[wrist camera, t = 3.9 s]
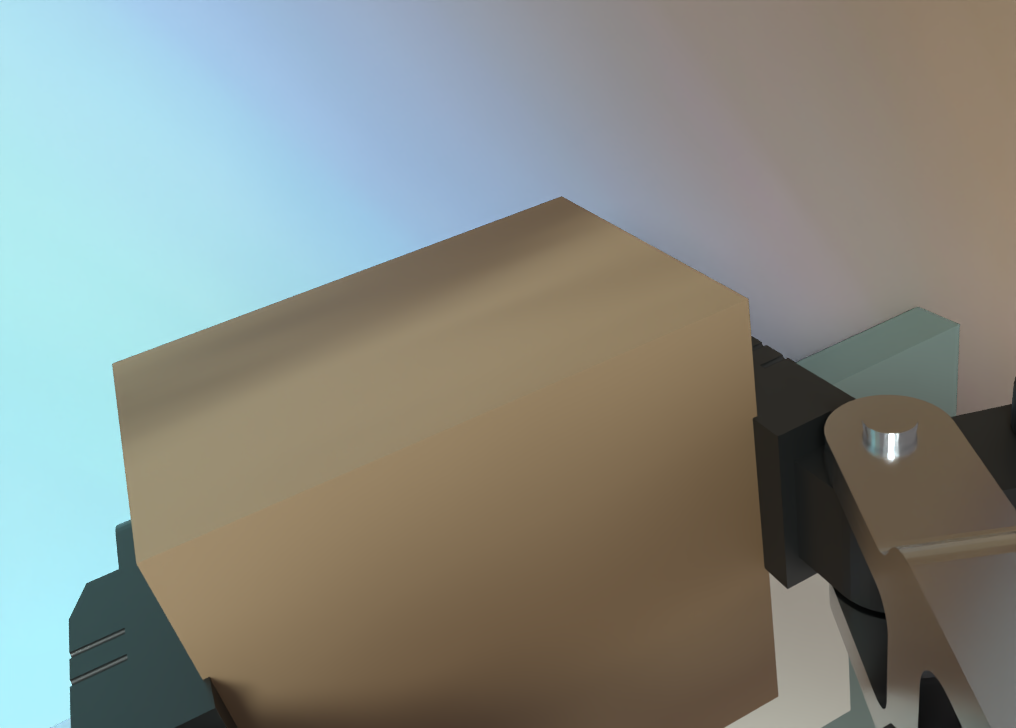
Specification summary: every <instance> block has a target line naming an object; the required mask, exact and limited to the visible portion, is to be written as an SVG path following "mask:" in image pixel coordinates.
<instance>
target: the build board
mask: <svg viewBox="0 0 1016 728" xmlns="http://www.w3.org/2000/svg"><path fill="white" fill-rule="evenodd" d="M959 329H960V324H958V323H955V322H953V321H951V320H948V319H946V318H943V317H941V316H939V315H936V314H934V313H932V312H929V311H927V310H925V309H922V308H920V307H916V308H914V309H912V310H910V311H907V312H905V313H903V314H901V315H899V316H897V317H894V318H892V319H890V320H888V321H886V322H884V323H881V324H879V325H877V326H875V327H873V328H870V329H868V330H866V331H864V332H862V333H860V334H857V335H855V336H853V337H851V338H849V339H846V340H844V341H842V342H840V343H838V344H836V345H833V346H831V347H829V348H827V349H825V350H823V351H820V352H818V353H816V354H814V355H812V356H809V357H807V358H805V359H803V360H801V361H799V362H796V363H797V364H799V365H800V366H802V367H804V368H805V369H807V370H809V371H810V372H812V373H814V374H815V375H817V376H819V377H820V378H822V379H824V380H825V381H827V382H829V383H830V384H832V385H834V386H835V387H837V388H839V389H840V390H842V391H844V392H845V393H847V394H849V395H850V396H852V397H854V398H855V399H858V398H862V397H867V396H874V395H900V396H907V397H913V398H916V399H920V400H923V401H926V402H928V403H931V404H933V405H935V406H937V407H939V408H940V409H942V410H943V411H944V412H946V413H947V414H948V415H949V416H950V417H953V416H956V406H957V381H958V355H959ZM769 577H770V591H771V604H772V617H773V630H774V643H775V656H776V670H777V683H778V697H777V698H775V699H773V700H772V701H770V702H768V703H766V704H765V705H763V706H761V707H759V708H758V709H756V710H754V711H752V712H751V713H749V714H747V715H746V716H744V717H742V718H740V719H739V720H737V721H735V722H733V723H732V724H730V725H728V726H726V727H725V728H876V727H875V724H874V721H873V719H872V716H871V713H870V711H869V708H868V706H867V703H866V700H865V698H864V695H863V692H862V690H861V687H860V684H859V682H858V679H857V676H856V674H855V671H854V669H853V666H852V663H851V661H850V658H849V655H848V653H847V650H846V647H845V645H844V642H843V639H842V637H841V634H840V632H839V629H838V626H837V624H836V621H835V618H834V616H833V613H832V610H831V607H830V600H829V583H828V582H827V581H826V580H825V579H824V578H823V577H821V576H820V575H819V574H818V573H817V574H815V575H813V576H811V577H809V578H808V579H806V580H804V581H802V582H800V583H798V584H796V585H795V586H793V587H791V588H789V589H787V588H786V587H785V586H783V585H782V584H781V583H780V582H779V581H778V580H777V579H776V578H775V577H774V576H773V575H771V574H770V573H769Z"/></svg>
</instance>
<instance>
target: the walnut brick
mask: <svg viewBox="0 0 1016 728" xmlns="http://www.w3.org/2000/svg"><path fill="white" fill-rule="evenodd" d="M112 366H113V375H114V383H115V391H116V399H117V408H118V416H119V424H120V432H121V441H122V449H123V457H124V465H125V474H126V482H127V490H128V498H129V507H130V515H131V523H132V531H133V540H134V548H135V556H136V564H137V566H138V567H139V569H140V571H141V573H142V574H143V576H144V578H145V580H146V581H147V583H148V585H149V587H150V588H151V590H152V592H153V594H154V595H155V597H156V599H157V601H158V602H159V604H160V606H161V608H162V609H163V611H164V613H165V615H166V616H167V618H168V620H169V622H170V623H171V625H172V627H173V629H174V630H175V632H176V634H177V636H178V637H179V639H180V641H181V643H182V644H183V646H184V648H185V650H186V651H187V653H188V655H189V657H190V658H191V660H192V662H193V664H194V665H195V667H196V669H197V671H198V673H199V674H200V676H201V678H202V680H203V679H205V678H208V677H210V679H211V681H212V683H213V684H214V686H215V688H216V690H217V692H218V693H219V695H220V697H221V699H222V700H223V702H224V704H225V706H226V707H227V709H228V711H229V713H230V715H231V716H232V718H233V720H234V722H235V723H236V725H237V727H238V728H725V727H726V726H728V725H730V724H732V723H733V722H735V721H737V720H739V719H740V718H742V717H744V716H746V715H747V714H749V713H751V712H752V711H754V710H756V709H758V708H759V707H761V706H763V705H765V704H766V703H768V702H770V701H772V700H773V699H775V698H777V697H778V683H777V670H776V656H775V643H774V630H773V617H772V604H771V591H770V577H769V572H768V571H767V570H766V569H765V567H764V555H763V542H762V530H761V517H760V505H759V493H758V480H757V468H756V455H755V443H754V430H753V418H754V417H756V416H757V406H756V393H755V380H754V367H753V354H752V341H751V327H750V314H749V301H748V299H747V298H746V297H744V296H742V295H740V294H738V293H737V292H735V291H733V290H731V289H729V288H727V287H726V286H724V285H722V284H720V283H718V282H717V281H715V280H713V279H711V278H709V277H707V276H706V275H704V274H702V273H700V272H698V271H697V270H695V269H693V268H691V267H689V266H687V265H686V264H684V263H682V262H680V261H678V260H677V259H675V258H673V257H671V256H669V255H667V254H666V253H664V252H662V251H660V250H658V249H656V248H655V247H653V246H651V245H649V244H647V243H646V242H644V241H642V240H640V239H638V238H636V237H635V236H633V235H631V234H629V233H627V232H626V231H624V230H622V229H620V228H618V227H616V226H615V225H613V224H611V223H609V222H607V221H606V220H604V219H602V218H600V217H598V216H596V215H595V214H593V213H591V212H589V211H587V210H585V209H584V208H582V207H580V206H578V205H576V204H575V203H573V202H571V201H569V200H567V199H565V198H564V197H562V196H561V197H559V198H556V199H553V200H551V201H548V202H545V203H543V204H540V205H537V206H535V207H532V208H529V209H526V210H524V211H521V212H518V213H516V214H513V215H510V216H508V217H505V218H502V219H500V220H497V221H494V222H492V223H489V224H486V225H484V226H481V227H478V228H475V229H473V230H470V231H467V232H465V233H462V234H459V235H457V236H454V237H451V238H449V239H446V240H443V241H441V242H438V243H435V244H432V245H430V246H427V247H424V248H422V249H419V250H416V251H414V252H411V253H408V254H406V255H403V256H400V257H398V258H395V259H392V260H390V261H387V262H384V263H381V264H379V265H376V266H373V267H371V268H368V269H365V270H363V271H360V272H357V273H355V274H352V275H349V276H347V277H344V278H341V279H339V280H336V281H333V282H330V283H328V284H325V285H322V286H320V287H317V288H314V289H312V290H309V291H306V292H304V293H301V294H298V295H296V296H293V297H290V298H287V299H285V300H282V301H279V302H277V303H274V304H271V305H269V306H266V307H263V308H261V309H258V310H255V311H253V312H250V313H247V314H245V315H242V316H239V317H236V318H234V319H231V320H228V321H226V322H223V323H220V324H218V325H215V326H212V327H210V328H207V329H204V330H202V331H199V332H196V333H194V334H191V335H188V336H185V337H183V338H180V339H177V340H175V341H172V342H169V343H167V344H164V345H161V346H159V347H156V348H153V349H151V350H148V351H145V352H142V353H140V354H137V355H134V356H132V357H129V358H126V359H124V360H121V361H118V362H116V363H113V364H112Z"/></svg>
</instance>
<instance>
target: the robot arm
mask: <svg viewBox="0 0 1016 728" xmlns="http://www.w3.org/2000/svg"><path fill="white" fill-rule="evenodd" d="M751 341H752V354H753V367H754V380H755V393H756V406H757V416H756V417H754V418H753V430H754V443H755V455H756V468H757V480H758V493H759V505H760V517H761V530H762V542H763V555H764V567H765V569H766V570H767V571H768V572H769V573H770V574H771V575H773V576H774V577H775V578H776V579H777V580H778V581H779V582H780V583H781V584H782V585H783V586H785V587H786V588H787V589H789V588H791V587H793V586H795V585H796V584H798V583H800V582H802V581H804V580H806V579H808V578H809V577H811V576H813V575H815V574H817V573H818V574H819V575H820V576H821V577H823V578H824V579H825V580H826V581H827V582H828V583H829V600H830V607H831V610H832V613H833V616H834V618H835V621H836V624H837V626H838V629H839V632H840V634H841V637H842V639H843V642H844V645H845V647H846V650H847V653H848V655H849V658H850V661H851V663H852V666H853V669H854V671H855V674H856V676H857V679H858V682H859V684H860V687H861V690H862V692H863V695H864V698H865V700H866V703H867V706H868V708H869V711H870V713H871V716H872V719H873V721H874V724H875V727H876V728H1016V377H1015V381H1014V388H1013V398H1012V404H1010V405H1005V406H1001V407H996V408H991V409H987V410H982V411H977V412H973V413H968V414H963V415H959V416H953V417H950V416H949V415H948V414H947V413H946V412H944V411H943V410H942V409H940V408H939V407H937V406H935V405H933V404H931V403H928V402H926V401H923V400H920V399H916V398H913V397H907V396H900V395H874V396H867V397H862V398H858V399H855V398H854V397H852V396H850V395H849V394H847V393H845V392H844V391H842V390H840V389H839V388H837V387H835V386H834V385H832V384H830V383H829V382H827V381H825V380H824V379H822V378H820V377H819V376H817V375H815V374H814V373H812V372H810V371H809V370H807V369H805V368H804V367H802V366H800V365H799V364H797V363H795V362H794V361H792V360H790V359H789V358H787V359H784V358H783V355H782V354H780V353H779V352H777V351H775V350H774V349H772V348H770V347H769V346H767V345H766V346H763V345H762V342H760V341H759V340H757V339H755V338H754V337H752V336H751ZM116 542H117V553H118V563H119V570H116V571H114V572H112V573H109V574H107V575H105V576H102V577H100V578H98V579H95V580H93V581H91V582H89V583H87V584H86V586H85V588H84V590H83V592H82V594H81V596H80V598H79V600H78V602H77V604H76V606H75V608H74V610H73V612H72V614H71V616H70V618H69V653H70V654H71V657H72V658H71V659H70V681H71V683H72V686H71V687H70V715H71V728H238V727H237V725H236V723H235V722H234V720H233V718H232V716H231V715H230V713H229V711H228V709H227V707H226V706H225V704H224V702H223V700H222V699H221V697H220V695H219V693H218V692H217V690H216V688H215V686H214V684H213V683H212V681H211V679H210V677H208V678H205V679H203V680H202V678H201V676H200V674H199V673H198V671H197V669H196V667H195V665H194V664H193V662H192V660H191V658H190V657H189V655H188V653H187V651H186V650H185V648H184V646H183V644H182V643H181V641H180V639H179V637H178V636H177V634H176V632H175V630H174V629H173V627H172V625H171V623H170V622H169V620H168V618H167V616H166V615H165V613H164V611H163V609H162V608H161V606H160V604H159V602H158V601H157V599H156V597H155V595H154V594H153V592H152V590H151V588H150V587H149V585H148V583H147V581H146V580H145V578H144V576H143V574H142V573H141V571H140V569H139V567H138V566H137V564H136V556H135V548H134V540H133V531H132V523H131V520H129V521H126V522H124V523H122V524H119V525H117V526H116Z"/></svg>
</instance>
